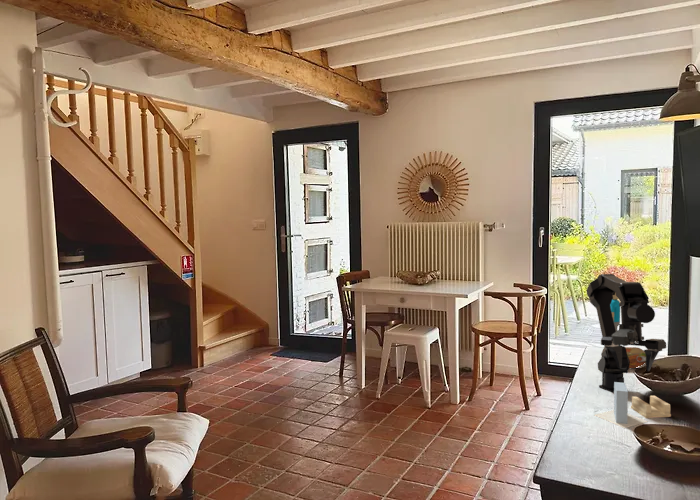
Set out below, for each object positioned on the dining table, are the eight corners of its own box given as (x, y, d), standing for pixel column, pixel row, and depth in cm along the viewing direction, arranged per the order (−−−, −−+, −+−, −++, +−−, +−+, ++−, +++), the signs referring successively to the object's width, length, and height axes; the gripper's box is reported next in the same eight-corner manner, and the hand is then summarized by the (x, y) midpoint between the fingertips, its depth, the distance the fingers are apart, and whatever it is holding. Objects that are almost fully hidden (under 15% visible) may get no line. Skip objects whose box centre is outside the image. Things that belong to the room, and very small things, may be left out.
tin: (606, 367, 215) (606, 347, 214) (605, 365, 218) (605, 345, 217) (648, 370, 211) (648, 349, 210) (646, 367, 214) (647, 346, 213)
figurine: (621, 365, 218) (622, 291, 215) (604, 362, 221) (604, 290, 218) (627, 354, 231) (628, 285, 228) (610, 352, 234) (611, 284, 232)
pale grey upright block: (613, 412, 170) (614, 381, 169) (624, 413, 169) (624, 382, 168) (616, 422, 163) (616, 390, 162) (627, 423, 162) (627, 391, 161)
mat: (593, 415, 169) (593, 414, 169) (616, 410, 173) (616, 409, 173) (624, 429, 159) (624, 428, 159) (647, 422, 163) (647, 421, 163)
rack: (630, 408, 174) (631, 396, 173) (655, 407, 174) (655, 395, 174) (645, 418, 166) (645, 406, 165) (670, 417, 166) (671, 404, 166)
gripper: (590, 321, 179) (592, 368, 178) (647, 323, 164) (650, 375, 163) (609, 319, 185) (611, 365, 184) (665, 321, 170) (668, 371, 169)
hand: (633, 369), depth 175 cm, fingers open, 9 cm apart
